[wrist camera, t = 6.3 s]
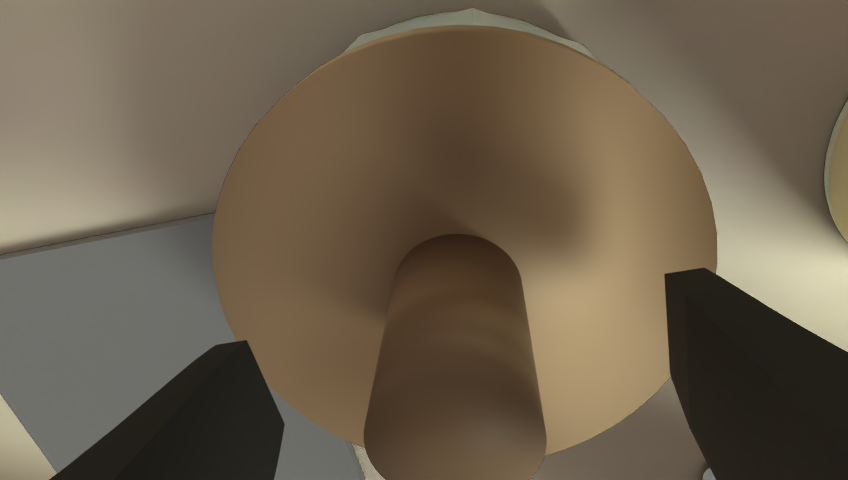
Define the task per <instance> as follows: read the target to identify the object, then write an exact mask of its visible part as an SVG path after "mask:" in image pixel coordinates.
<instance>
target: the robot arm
mask: <svg viewBox="0 0 848 480" xmlns="http://www.w3.org/2000/svg"><path fill="white" fill-rule="evenodd" d="M664 278H665V296H666V313H667V331H668V348H669V366H670V375H671V378H672V380H673V383H674V386H675V389H676V392H677V394H678V397H679V400H680V403H681V406H682V408H683V411H684V414H685V416H686V419H687V422H688V424H689V427H690V429H691V431H692V433H693V435H694V437H695V439H696V441H697V443H698V445H699V447H700V449H701V451H702V453H703V455H704V457H705V459H706V461H707V463H708V465H709V467H710V468H709V469H707V470H706V471H705V473H704V475H703V480H848V352H846V351H844V350H843V349H841V348H839V347H837V346H835V345H833V344H832V343H830V342H828V341H826V340H824V339H823V338H821V337H819V336H817V335H815V334H814V333H812V332H810V331H808V330H807V329H805V328H803V327H801V326H800V325H798V324H796V323H795V322H793V321H791V320H790V319H788V318H786V317H784V316H783V315H781V314H779V313H778V312H776V311H774V310H773V309H771V308H769V307H768V306H766V305H765V304H763V303H761V302H760V301H758V300H757V299H755V298H753V297H752V296H750V295H748V294H747V293H745V292H744V291H742V290H740V289H739V288H737V287H736V286H734V285H732V284H731V283H729V282H728V281H726V280H725V279H723V278H721V277H720V276H718V275H716V274H715V273H713V272H711V271H710V270H708V269H706V268H705V267H704V268H698V269H691V270H685V271H679V272H672V273H666V274H664ZM284 426H285V423H284V421H283V419H282V417H281V414H280V412H279V410H278V408H277V406H276V403H275V401H274V399H273V397H272V395H271V392H270V390H269V388H268V386H267V383H266V381H265V379H264V377H263V375H262V372H261V370H260V368H259V366H258V364H257V361H256V359H255V357H254V355H253V352H252V350H251V348H250V346H249V344H248V341H247V340H243V341H237V342H230V343H224V344H218V345H215V346H213V347H212V348H211V349H209V350H208V351H206V352H205V353H203V354H202V355H201V356H200V357H198V358H197V359H196V360H194V361H193V362H192V363H191V364H189V365H188V366H187V367H186V368H185V369H183V370H182V371H181V372H180V373H179V374H177V375H176V376H175V377H174V378H173V379H171V380H170V381H169V382H168V383H167V384H166V385H164V386H163V387H162V388H161V389H160V390H159V391H157V392H156V393H155V394H154V395H153V396H151V397H150V398H149V399H148V400H147V401H146V402H144V403H143V404H142V405H141V406H140V407H139V408H137V409H136V410H135V411H134V412H133V413H131V414H130V415H129V416H128V417H127V418H126V419H124V420H123V421H122V422H121V423H120V424H118V425H117V426H116V427H115V428H114V429H112V430H111V431H110V432H109V433H107V434H106V435H105V436H104V437H102V438H101V439H100V440H99V441H97V442H96V443H95V444H94V445H92V446H91V447H90V448H89V449H87V450H86V451H85V452H84V453H82V454H81V455H80V456H79V457H77V458H76V459H75V460H74V461H72V462H71V463H70V464H69V465H67V466H66V467H65V468H64V469H62V470H61V471H60V472H59V473H57V474H56V475H55V476H53V477H52V478H51V479H49V480H274V478H275V473H276V468H277V464H278V459H279V454H280V449H281V443H282V437H283V432H284Z"/></svg>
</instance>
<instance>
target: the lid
mask: <svg viewBox="0 0 848 480" xmlns="http://www.w3.org/2000/svg"><path fill="white" fill-rule="evenodd" d="M212 263H213V270H214V276H215V282H216V288H217V293H218V296H219V299H220V302H221V306H222V309H223V312H224V315H225V318H226V320H227V322H228V324H229V326H230V329H231V331H232V333H233V335H234V337H235V339H236V341H243V340H247V341H248V344H249V346H250V348H251V350H252V352H253V355H254V357H255V359H256V361H257V364H258V366H259V368H260V370H261V372H262V375H263V377H264V379H265V381H266V383H267V384H268V385H269V386H270V387H271V388H272V389H273V390H274V391H275V392H276V393H277V394H278V395H279V396H280V397H282V398H283V399H284V400H285V401H286V402H287V403H288V404H289V405H291V406H292V407H293V408H295V409H296V410H297V411H298V412H300V413H301V414H302V415H304V416H305V417H306V418H308V419H309V420H311V421H312V422H314V423H316V424H317V425H319V426H321V427H322V428H324V429H325V430H327V431H329V432H330V433H332V434H334V435H336V436H339V437H341V438H343V439H345V440H347V441H349V442H351V443H353V444H355V445H358V446H361V447H363V448H365V450H366V452H367V455H368V457H369V459H370V461H371V463H372V465H373V466H374V467H375V469H376V470H377V471H378V473H379V474H380V475H381V476H382V477H383V478H384V479H385V480H529V479H530V478H531V477H532V476H533V475H534V474H535V473H536V471H537V470H538V468H539V467H540V465H541V463H542V461H543V458H544V456H546V455H549V454H552V453H555V452H558V451H561V450H565V449H568V448H570V447H572V446H574V445H577V444H579V443H581V442H584V441H586V440H588V439H591V438H593V437H595V436H596V435H598V434H600V433H602V432H603V431H605V430H607V429H609V428H611V427H612V426H614V425H616V424H617V423H619V422H620V421H621V420H623V419H624V418H626V417H627V416H628V415H630V414H631V413H633V412H634V411H635V410H637V409H638V408H639V407H640V406H642V405H643V404H644V403H645V402H646V401H647V400H648V399H649V398H650V397H651V396H653V395H654V394H655V393H656V392H657V391H658V390H659V389H660V388H661V387H662V386H663V384H664V383H665V382H666V381H667V380H668V379H669V377H670V376H671V375H670V366H669V348H668V331H667V313H666V296H665V278H664V274H666V273H672V272H679V271H685V270H691V269H698V268H704V267H705V268H706V269H708V270H710V271H711V272H713V273H715V274H716V268H717V231H716V226H715V220H714V214H713V209H712V203H711V200H710V197H709V194H708V192H707V189H706V186H705V183H704V180H703V177H702V174H701V172H700V170H699V168H698V166H697V165H696V163H695V161H694V159H693V157H692V155H691V154H690V152H689V150H688V148H687V146H686V144H685V143H684V142H683V140H682V139H681V138H680V136H679V135H678V134H677V133H676V131H675V130H674V129H673V127H672V126H671V125H670V123H669V122H668V121H667V120H666V118H665V117H664V116H663V115H662V114H661V113H660V112H659V111H658V110H657V109H656V108H655V107H654V106H653V105H652V104H650V103H649V102H648V101H647V100H646V99H645V98H644V97H643V96H642V95H641V94H640V93H639V92H638V91H637V90H636V89H635V88H634V87H632V86H631V85H630V84H629V83H628V82H627V81H626V80H625V79H623V78H622V77H620V76H619V75H618V74H616V73H615V72H613V71H612V70H610V69H609V68H607V67H606V66H605V65H603V64H602V63H600V62H599V61H597V60H595V59H593V58H591V57H589V56H587V55H585V54H583V53H581V52H579V51H577V50H575V49H573V48H571V47H569V46H567V45H565V44H562V43H559V42H556V41H553V40H550V39H547V38H544V37H541V36H538V35H535V34H532V33H529V32H523V31H518V30H512V29H506V28H501V27H495V26H479V25H446V26H435V27H425V28H417V29H413V30H409V31H404V32H400V33H396V34H392V35H388V36H384V37H381V38H378V39H376V40H373V41H371V42H368V43H365V44H363V45H360V46H358V47H355V48H353V49H350V50H348V51H346V52H345V53H343V54H341V55H339V56H338V57H336V58H334V59H332V60H331V61H329V62H327V63H325V64H324V65H322V66H320V67H318V68H317V69H316V70H315V71H313V72H312V73H311V74H309V75H308V76H307V77H306V78H304V79H303V80H302V81H301V82H299V83H298V84H297V85H295V86H294V87H293V88H292V89H291V90H290V91H288V92H287V93H286V94H285V95H284V96H283V97H282V98H281V99H280V100H279V101H278V102H277V103H276V104H275V105H274V106H273V107H272V108H271V109H270V110H269V111H268V112H267V114H266V115H265V116H264V117H263V118H262V119H261V120H260V121H259V122H258V123H257V124H256V126H255V127H254V129H253V130H252V132H251V133H250V134H249V136H248V137H247V139H246V140H245V142H244V143H243V144H242V146H241V147H240V149H239V150H238V152H237V155H236V157H235V159H234V161H233V163H232V165H231V167H230V169H229V171H228V173H227V175H226V177H225V180H224V183H223V186H222V190H221V193H220V196H219V199H218V203H217V206H216V212H215V219H214V226H213V233H212Z"/></svg>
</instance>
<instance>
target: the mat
mask: <svg viewBox="0 0 848 480" xmlns="http://www.w3.org/2000/svg"><path fill="white" fill-rule="evenodd" d="M214 219H215V213H211V214H206V215H201V216H196V217H191V218H185V219H180V220H175V221H170V222H165V223H160V224H155V225H150V226H145V227H140V228H135V229H130V230H125V231H120V232H114V233H109V234H104V235H99V236H94V237H89V238H84V239H79V240H74V241H69V242H64V243H59V244H54V245H49V246H43V247H38V248H33V249H28V250H23V251H18V252H13V253H8V254H3V255H0V394H1V396H2V397H3V398H4V400H5V401H6V403H7V404H8V405H9V407H10V408H11V409H12V411H13V412H14V414H15V415H16V416H17V418H18V419H19V421H20V422H21V423H22V425H23V426H24V428H25V429H26V430H27V432H28V433H29V435H30V436H31V437H32V439H33V440H34V441H35V443H36V444H37V446H38V447H39V448H40V450H41V451H42V453H43V454H44V455H45V457H46V458H47V460H48V461H49V462H50V464H51V465H52V467H53V468H54V469H55V471H56V472H57V473H59V472H60V471H61V470H62V469H64V468H65V467H66V466H67V465H69V464H70V463H71V462H72V461H74V460H75V459H76V458H77V457H79V456H80V455H81V454H82V453H84V452H85V451H86V450H87V449H89V448H90V447H91V446H92V445H94V444H95V443H96V442H97V441H99V440H100V439H101V438H102V437H104V436H105V435H106V434H107V433H109V432H110V431H111V430H112V429H114V428H115V427H116V426H117V425H118V424H120V423H121V422H122V421H123V420H124V419H126V418H127V417H128V416H129V415H130V414H131V413H133V412H134V411H135V410H136V409H137V408H139V407H140V406H141V405H142V404H143V403H144V402H146V401H147V400H148V399H149V398H150V397H151V396H153V395H154V394H155V393H156V392H157V391H159V390H160V389H161V388H162V387H163V386H164V385H166V384H167V383H168V382H169V381H170V380H171V379H173V378H174V377H175V376H176V375H177V374H179V373H180V372H181V371H182V370H183V369H185V368H186V367H187V366H188V365H189V364H191V363H192V362H193V361H194V360H196V359H197V358H198V357H200V356H201V355H202V354H203V353H205V352H206V351H208V350H209V349H211V348H212V347H213V346H215V345H218V344H224V343H230V342H237V341H236V339H235V337H234V335H233V333H232V331H231V329H230V326H229V324H228V322H227V320H226V318H225V315H224V312H223V309H222V306H221V302H220V299H219V296H218V293H217V288H216V282H215V276H214V270H213V263H212V233H213V226H214ZM267 386H268V388H269V390H270V392H271V395H272V397H273V399H274V401H275V403H276V406H277V408H278V410H279V412H280V414H281V417H282V419H283V421H284V423H285V426H284V432H283V437H282V443H281V449H280V454H279V459H278V464H277V468H276V473H275V478H274V480H365V476H364V474H363V471H362V469H361V466H360V464H359V461H358V458H357V456H356V453H355V451H354V448H353V446H352V443H351V442H349V441H347V440H345V439H343V438H341V437H339V436H336V435H334V434H332V433H330V432H329V431H327V430H325V429H324V428H322V427H321V426H319V425H317V424H316V423H314V422H312V421H311V420H309V419H308V418H306V417H305V416H304V415H302V414H301V413H300V412H298V411H297V410H296V409H295V408H293V407H292V406H291V405H289V404H288V403H287V402H286V401H285V400H284V399H283V398H282V397H280V396H279V395H278V394H277V393H276V392H275V391H274V390H273V389H272V388H271V387H270V386H269V385H268V384H267Z"/></svg>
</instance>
